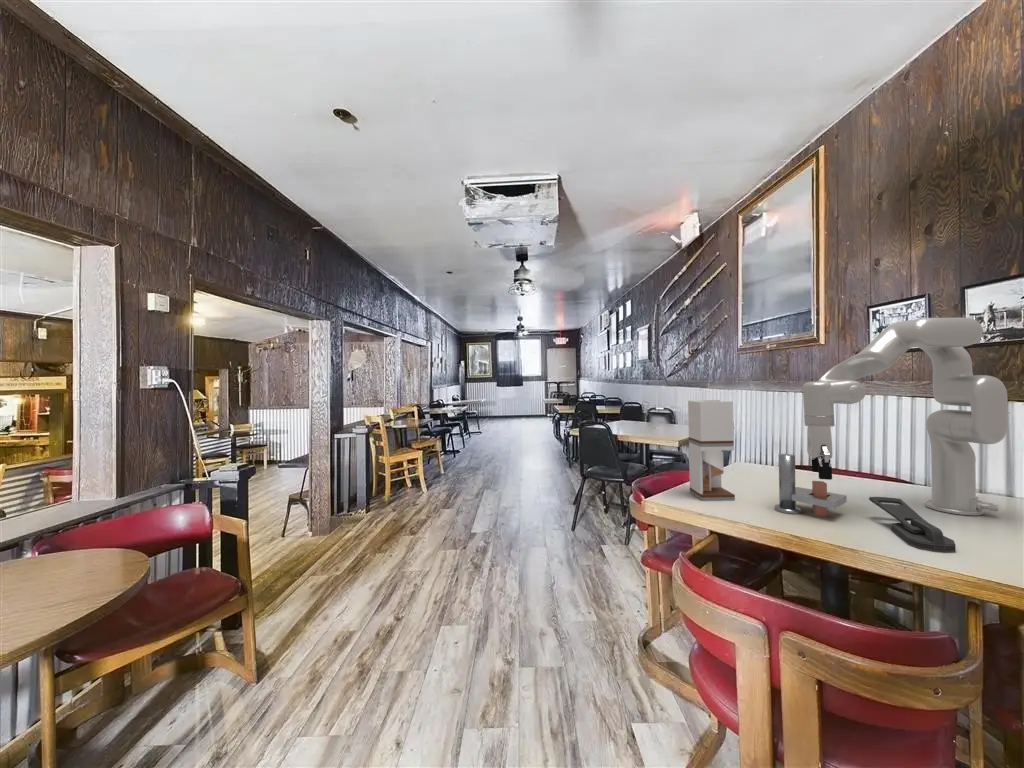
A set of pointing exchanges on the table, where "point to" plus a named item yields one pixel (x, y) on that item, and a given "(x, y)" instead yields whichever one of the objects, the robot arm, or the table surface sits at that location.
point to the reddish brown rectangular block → (821, 491)
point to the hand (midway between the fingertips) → (821, 475)
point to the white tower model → (709, 447)
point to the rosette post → (799, 490)
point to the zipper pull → (914, 527)
